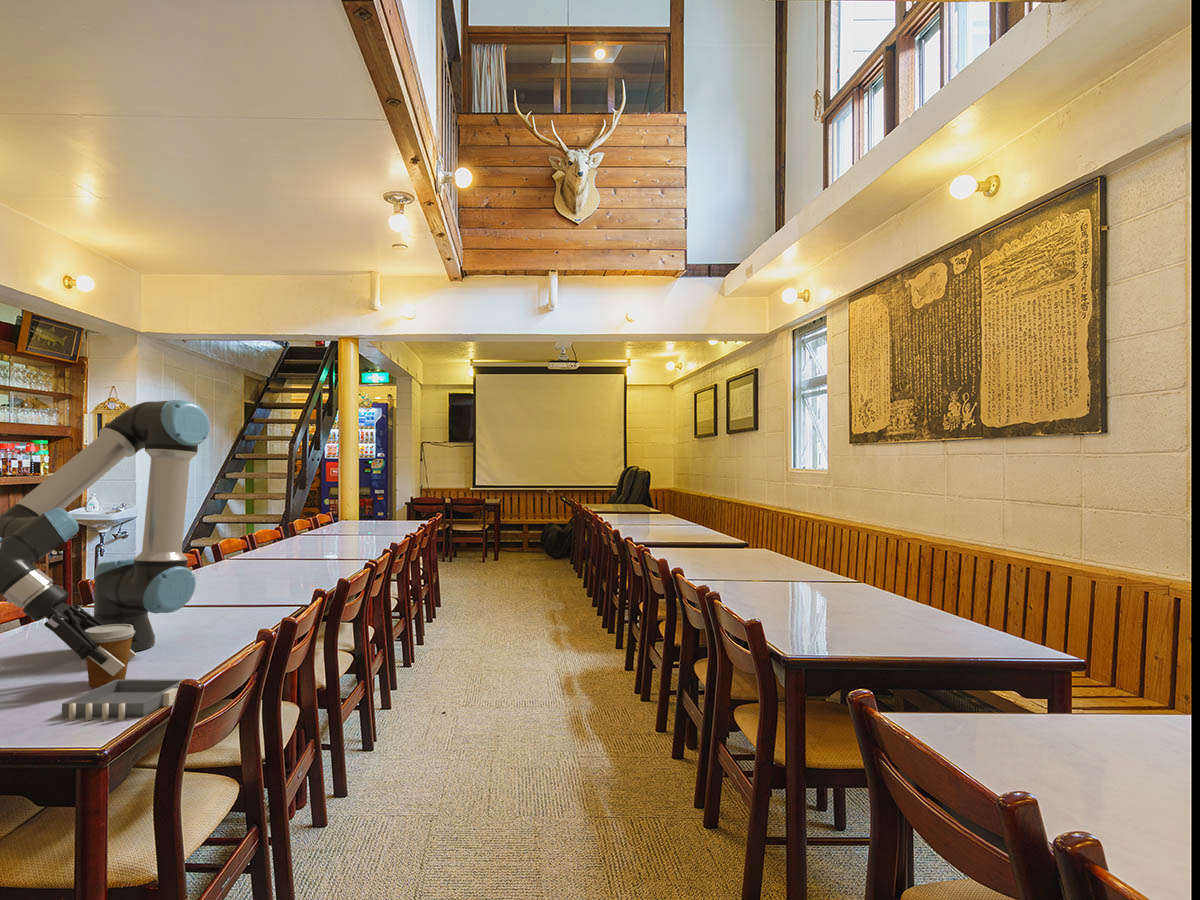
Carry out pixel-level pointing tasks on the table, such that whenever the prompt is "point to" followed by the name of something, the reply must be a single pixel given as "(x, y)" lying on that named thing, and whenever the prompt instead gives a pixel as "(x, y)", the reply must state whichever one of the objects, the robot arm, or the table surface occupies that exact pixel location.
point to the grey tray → (122, 699)
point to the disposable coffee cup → (114, 642)
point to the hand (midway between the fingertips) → (125, 664)
